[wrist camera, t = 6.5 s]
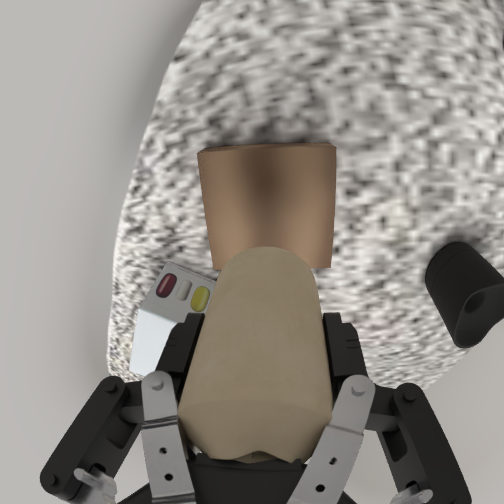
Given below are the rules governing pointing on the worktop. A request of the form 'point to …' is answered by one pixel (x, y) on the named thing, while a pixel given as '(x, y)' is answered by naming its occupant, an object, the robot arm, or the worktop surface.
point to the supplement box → (166, 313)
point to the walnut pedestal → (270, 199)
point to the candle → (259, 363)
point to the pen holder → (465, 293)
